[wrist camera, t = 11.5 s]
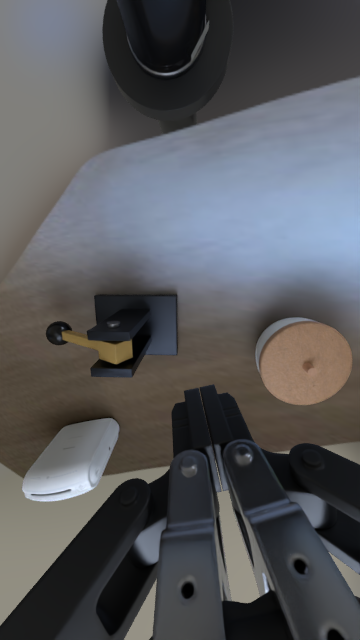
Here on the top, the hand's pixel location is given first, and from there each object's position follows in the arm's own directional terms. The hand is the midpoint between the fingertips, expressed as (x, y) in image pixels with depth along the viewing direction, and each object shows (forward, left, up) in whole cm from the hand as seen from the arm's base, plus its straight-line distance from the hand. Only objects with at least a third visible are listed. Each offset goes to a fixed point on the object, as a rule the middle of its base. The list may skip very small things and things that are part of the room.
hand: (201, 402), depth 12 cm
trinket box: (+6, +13, -25) cm, 29 cm away
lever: (+3, -13, -18) cm, 23 cm away
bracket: (+3, -9, -25) cm, 27 cm away
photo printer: (+22, -18, -25) cm, 38 cm away
